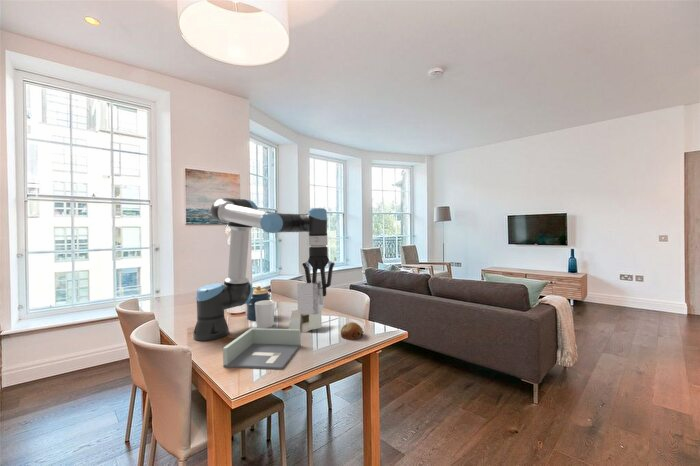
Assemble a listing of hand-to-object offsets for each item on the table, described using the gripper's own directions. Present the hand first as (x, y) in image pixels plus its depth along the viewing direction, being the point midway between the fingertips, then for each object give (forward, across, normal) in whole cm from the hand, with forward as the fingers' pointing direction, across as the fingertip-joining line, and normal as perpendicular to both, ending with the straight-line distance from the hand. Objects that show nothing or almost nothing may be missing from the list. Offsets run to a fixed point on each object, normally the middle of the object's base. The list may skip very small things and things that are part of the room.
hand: (319, 303), depth 124 cm
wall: (+19, -13, +24) cm, 33 cm away
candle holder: (+19, -35, +26) cm, 48 cm away
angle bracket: (+2, -3, -2) cm, 4 cm away
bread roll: (+19, +12, +15) cm, 27 cm away
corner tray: (+18, -20, -9) cm, 28 cm away
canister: (+19, -45, +41) cm, 64 cm away
